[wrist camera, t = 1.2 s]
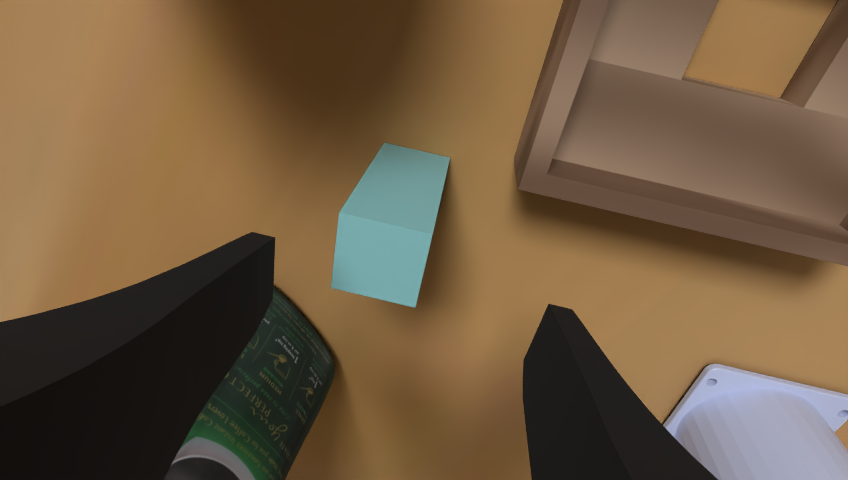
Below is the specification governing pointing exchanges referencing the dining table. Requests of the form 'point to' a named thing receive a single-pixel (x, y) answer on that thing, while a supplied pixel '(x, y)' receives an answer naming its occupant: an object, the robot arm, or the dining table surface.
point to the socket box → (689, 130)
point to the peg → (389, 225)
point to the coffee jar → (261, 404)
